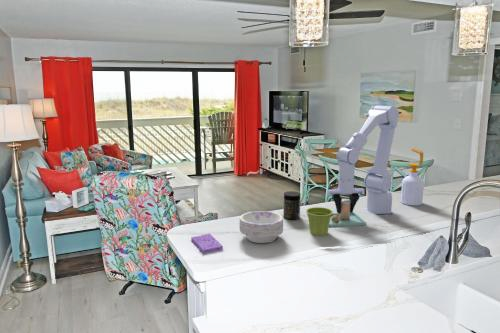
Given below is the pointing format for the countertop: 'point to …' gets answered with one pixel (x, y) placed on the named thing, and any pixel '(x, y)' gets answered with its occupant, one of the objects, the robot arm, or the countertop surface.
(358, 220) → the tray
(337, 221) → the ball
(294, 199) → the supplement container
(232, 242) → the countertop surface
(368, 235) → the countertop surface
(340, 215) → the shaker
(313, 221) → the plant pot
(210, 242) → the sponges
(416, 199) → the soap bottle
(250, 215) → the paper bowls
